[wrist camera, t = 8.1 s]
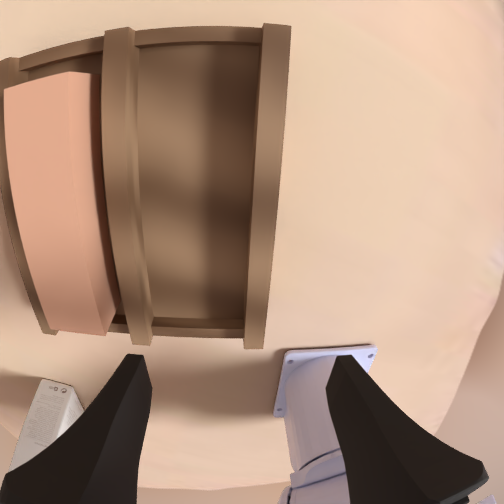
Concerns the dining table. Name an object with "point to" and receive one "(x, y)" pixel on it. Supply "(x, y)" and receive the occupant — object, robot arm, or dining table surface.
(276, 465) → the dining table surface
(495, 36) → the dining table surface
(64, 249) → the clay strip
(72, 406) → the skincare box
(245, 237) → the rack
